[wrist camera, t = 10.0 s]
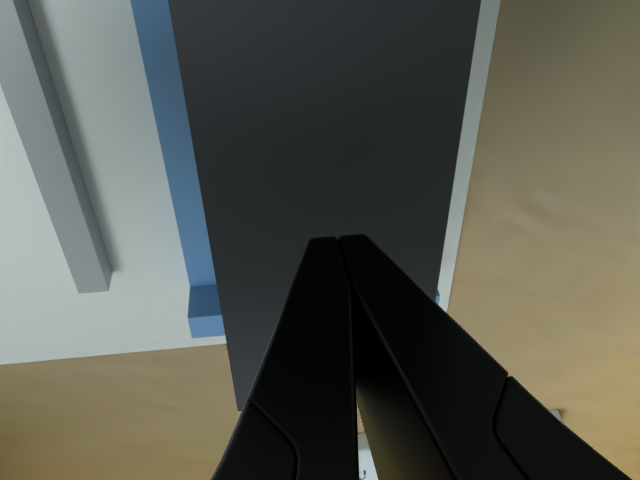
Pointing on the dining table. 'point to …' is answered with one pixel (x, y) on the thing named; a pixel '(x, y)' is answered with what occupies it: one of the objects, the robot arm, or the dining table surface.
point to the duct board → (122, 183)
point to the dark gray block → (319, 139)
